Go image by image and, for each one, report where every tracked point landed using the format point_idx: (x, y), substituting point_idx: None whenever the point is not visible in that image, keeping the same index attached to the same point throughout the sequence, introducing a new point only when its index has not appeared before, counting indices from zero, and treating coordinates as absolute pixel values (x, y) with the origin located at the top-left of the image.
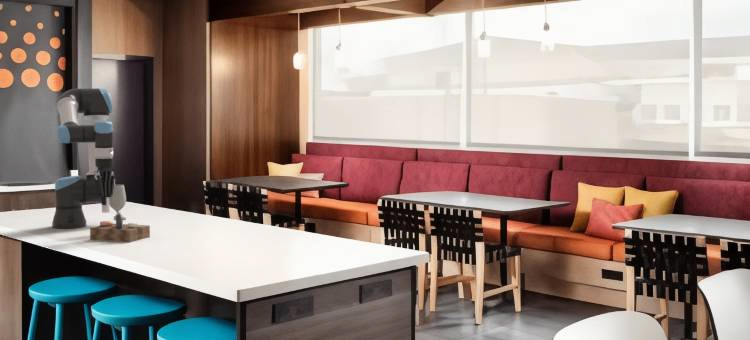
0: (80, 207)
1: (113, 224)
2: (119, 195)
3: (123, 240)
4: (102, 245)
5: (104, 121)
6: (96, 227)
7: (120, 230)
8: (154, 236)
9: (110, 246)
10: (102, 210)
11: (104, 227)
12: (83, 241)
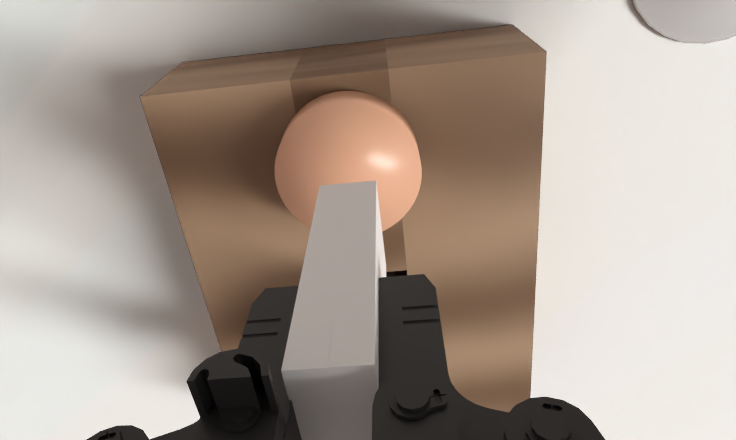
0: None
1: (474, 152)
2: None
3: None
4: (67, 334)
5: None
6: (204, 143)
7: None
8: (541, 384)
9: (80, 393)
10: (318, 208)
11: (251, 218)
12: (75, 82)
